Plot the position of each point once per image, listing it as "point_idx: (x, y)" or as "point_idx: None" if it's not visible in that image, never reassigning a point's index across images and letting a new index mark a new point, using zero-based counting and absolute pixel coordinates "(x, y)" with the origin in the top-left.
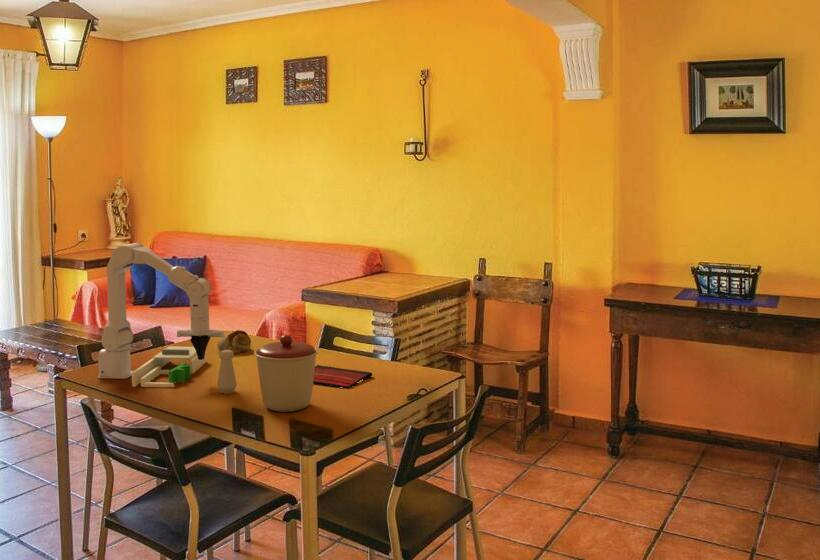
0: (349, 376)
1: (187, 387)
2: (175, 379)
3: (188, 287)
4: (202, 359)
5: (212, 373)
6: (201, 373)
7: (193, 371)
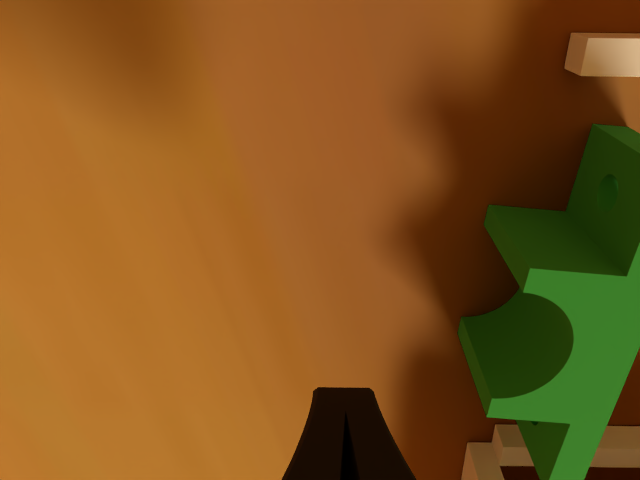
0: None
1: (419, 44)
2: (583, 209)
3: None
4: (314, 393)
5: None
6: None
7: (467, 468)
